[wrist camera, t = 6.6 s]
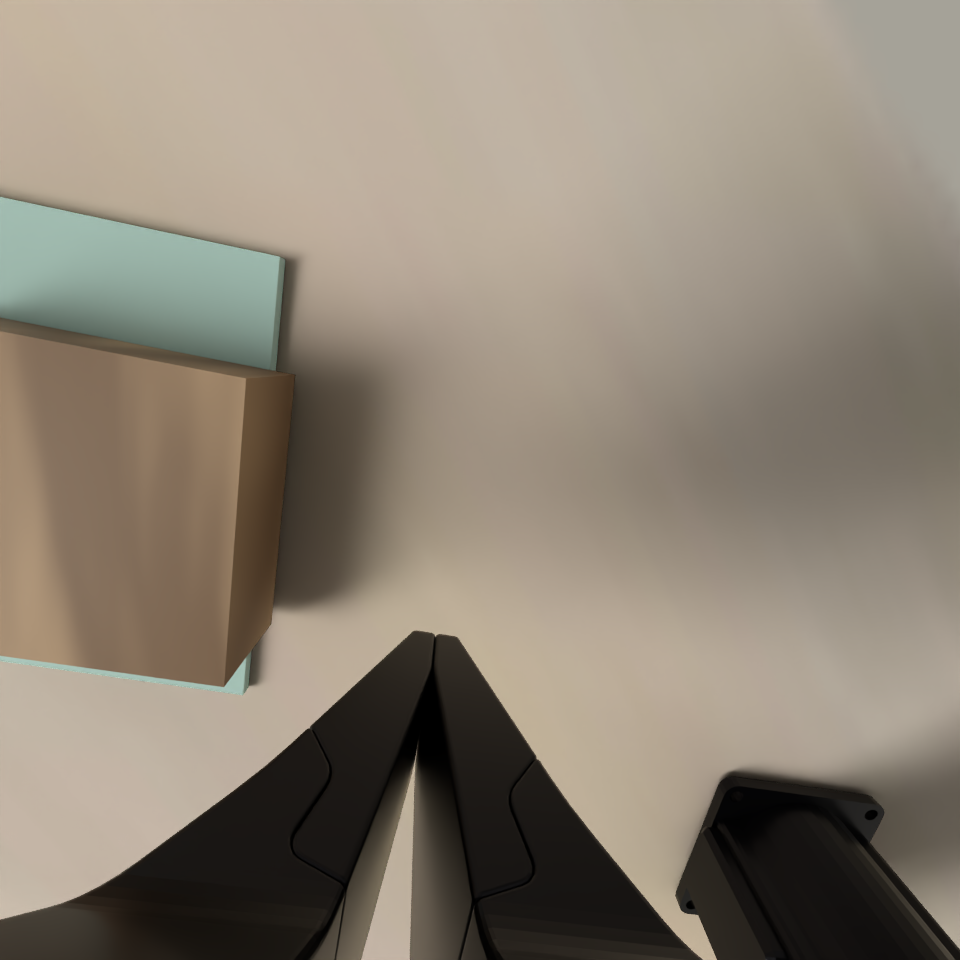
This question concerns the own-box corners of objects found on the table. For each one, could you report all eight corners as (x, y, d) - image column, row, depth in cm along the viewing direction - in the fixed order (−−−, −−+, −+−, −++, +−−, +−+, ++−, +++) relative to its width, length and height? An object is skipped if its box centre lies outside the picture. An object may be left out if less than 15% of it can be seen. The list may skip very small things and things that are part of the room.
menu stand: (246, 378, 10) (-200, 292, 9) (224, 687, 12) (-148, 634, 11) (297, 374, 13) (-37, 309, 12) (273, 621, 15) (-17, 576, 14)
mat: (285, 259, 13) (279, 256, 12) (248, 687, 16) (243, 694, 16) (-63, 185, 12) (-81, 179, 12) (-27, 648, 15) (-40, 655, 15)
